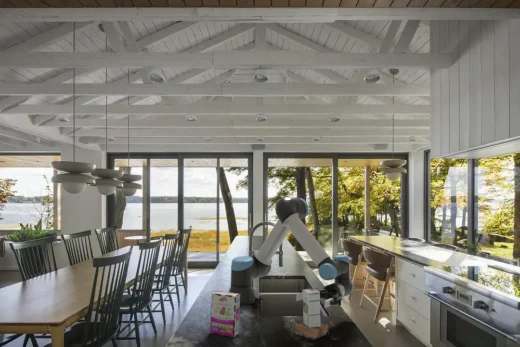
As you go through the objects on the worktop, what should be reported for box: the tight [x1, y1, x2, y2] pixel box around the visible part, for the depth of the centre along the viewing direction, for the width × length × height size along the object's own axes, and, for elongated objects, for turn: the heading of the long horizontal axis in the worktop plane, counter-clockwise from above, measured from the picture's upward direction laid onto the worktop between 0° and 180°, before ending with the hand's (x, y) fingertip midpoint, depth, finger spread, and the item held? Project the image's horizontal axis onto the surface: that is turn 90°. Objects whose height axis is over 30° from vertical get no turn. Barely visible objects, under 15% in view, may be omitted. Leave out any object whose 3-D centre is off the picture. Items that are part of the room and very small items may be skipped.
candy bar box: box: [209, 290, 241, 338], centre depth 150 cm, size 11×5×16 cm, turn 69°
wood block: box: [294, 322, 329, 338], centre depth 153 cm, size 10×10×4 cm
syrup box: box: [302, 288, 321, 328], centre depth 154 cm, size 6×6×14 cm
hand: (310, 301), depth 153 cm, fingers open, 13 cm apart
